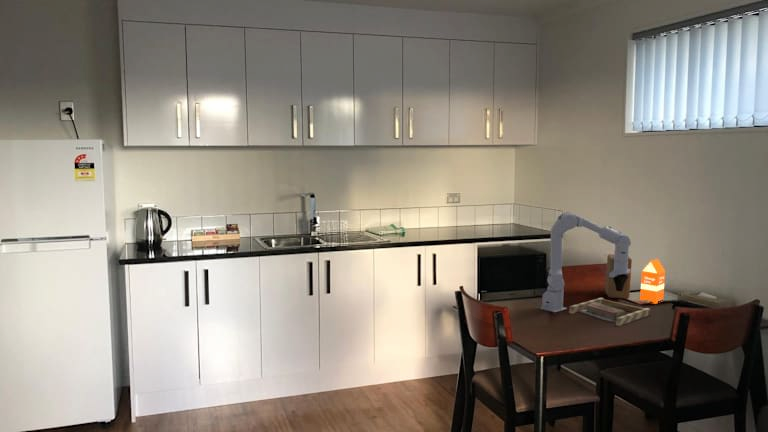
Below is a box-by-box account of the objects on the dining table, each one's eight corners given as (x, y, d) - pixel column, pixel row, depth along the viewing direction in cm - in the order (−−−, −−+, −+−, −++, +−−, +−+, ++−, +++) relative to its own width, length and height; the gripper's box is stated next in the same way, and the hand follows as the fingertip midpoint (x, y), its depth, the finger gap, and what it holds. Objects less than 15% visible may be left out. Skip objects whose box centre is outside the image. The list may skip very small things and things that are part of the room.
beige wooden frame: (619, 325, 259) (619, 318, 258) (569, 313, 277) (569, 306, 277) (649, 315, 275) (650, 308, 275) (600, 303, 293) (600, 297, 293)
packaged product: (629, 309, 268) (613, 312, 263) (628, 320, 268) (612, 323, 263) (595, 299, 283) (580, 302, 278) (595, 310, 284) (579, 313, 279)
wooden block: (629, 299, 302) (632, 258, 300) (608, 297, 304) (610, 257, 302) (626, 294, 312) (628, 254, 310) (605, 293, 314) (607, 253, 312)
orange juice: (663, 300, 300) (666, 259, 298) (655, 303, 294) (658, 262, 292) (647, 297, 306) (649, 257, 303) (639, 300, 300) (642, 259, 297)
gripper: (620, 264, 270) (618, 295, 272) (637, 260, 279) (635, 290, 281) (605, 261, 275) (604, 291, 277) (623, 258, 285) (621, 287, 286)
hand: (619, 290), depth 279 cm, fingers closed
